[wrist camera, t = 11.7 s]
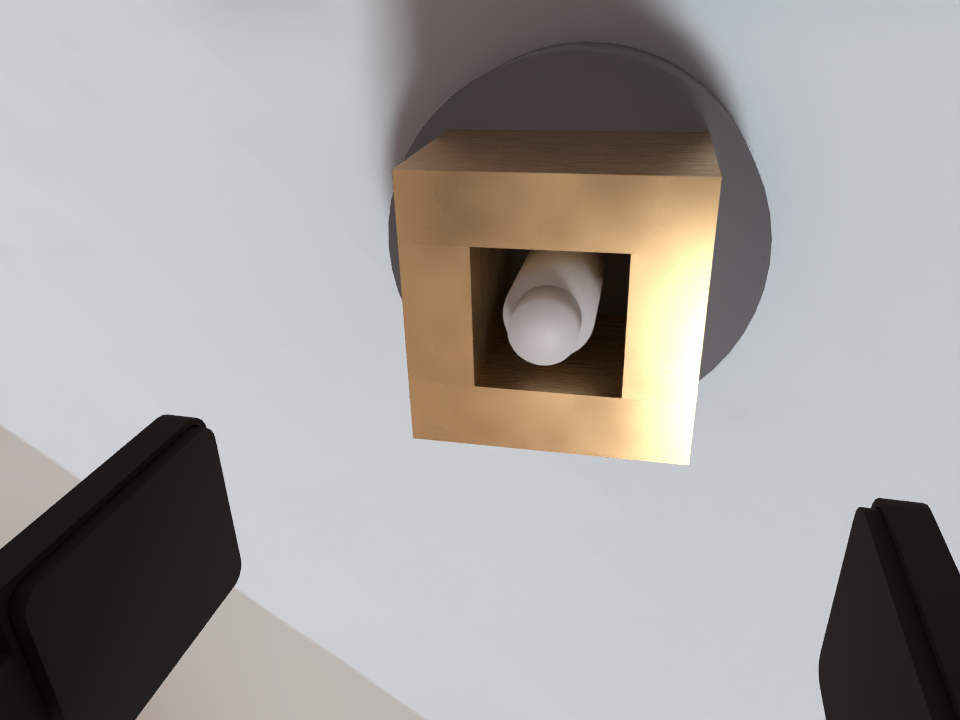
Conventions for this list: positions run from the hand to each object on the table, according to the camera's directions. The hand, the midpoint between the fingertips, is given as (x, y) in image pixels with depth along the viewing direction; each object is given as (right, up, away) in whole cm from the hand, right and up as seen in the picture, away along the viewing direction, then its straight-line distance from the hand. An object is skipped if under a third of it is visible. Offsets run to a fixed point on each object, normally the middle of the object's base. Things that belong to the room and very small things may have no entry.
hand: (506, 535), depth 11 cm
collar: (+2, +6, +11) cm, 13 cm away
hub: (+3, +7, +14) cm, 16 cm away
